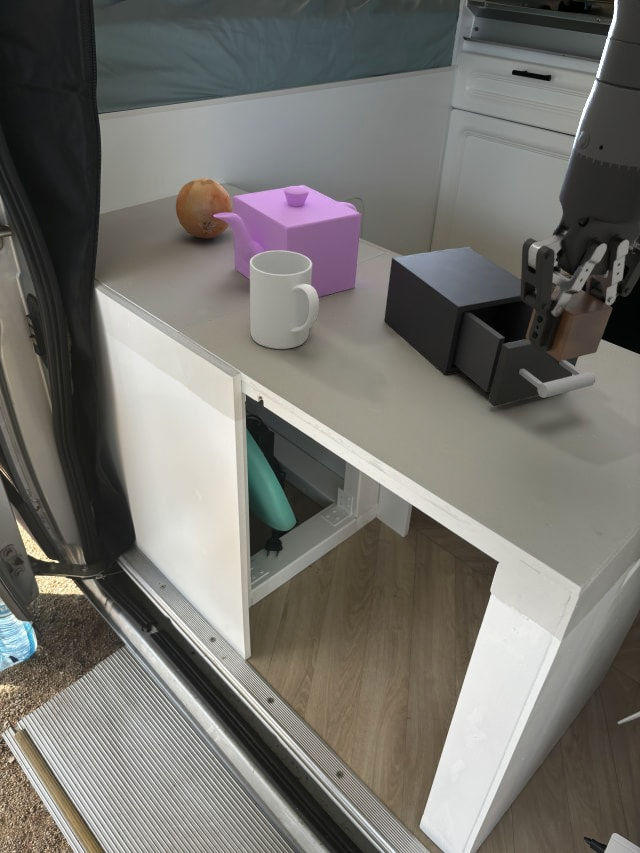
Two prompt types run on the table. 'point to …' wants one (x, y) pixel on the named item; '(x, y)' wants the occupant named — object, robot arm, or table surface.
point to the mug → (281, 299)
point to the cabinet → (443, 298)
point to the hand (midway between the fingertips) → (561, 341)
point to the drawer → (511, 356)
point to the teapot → (298, 233)
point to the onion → (203, 207)
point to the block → (578, 326)
